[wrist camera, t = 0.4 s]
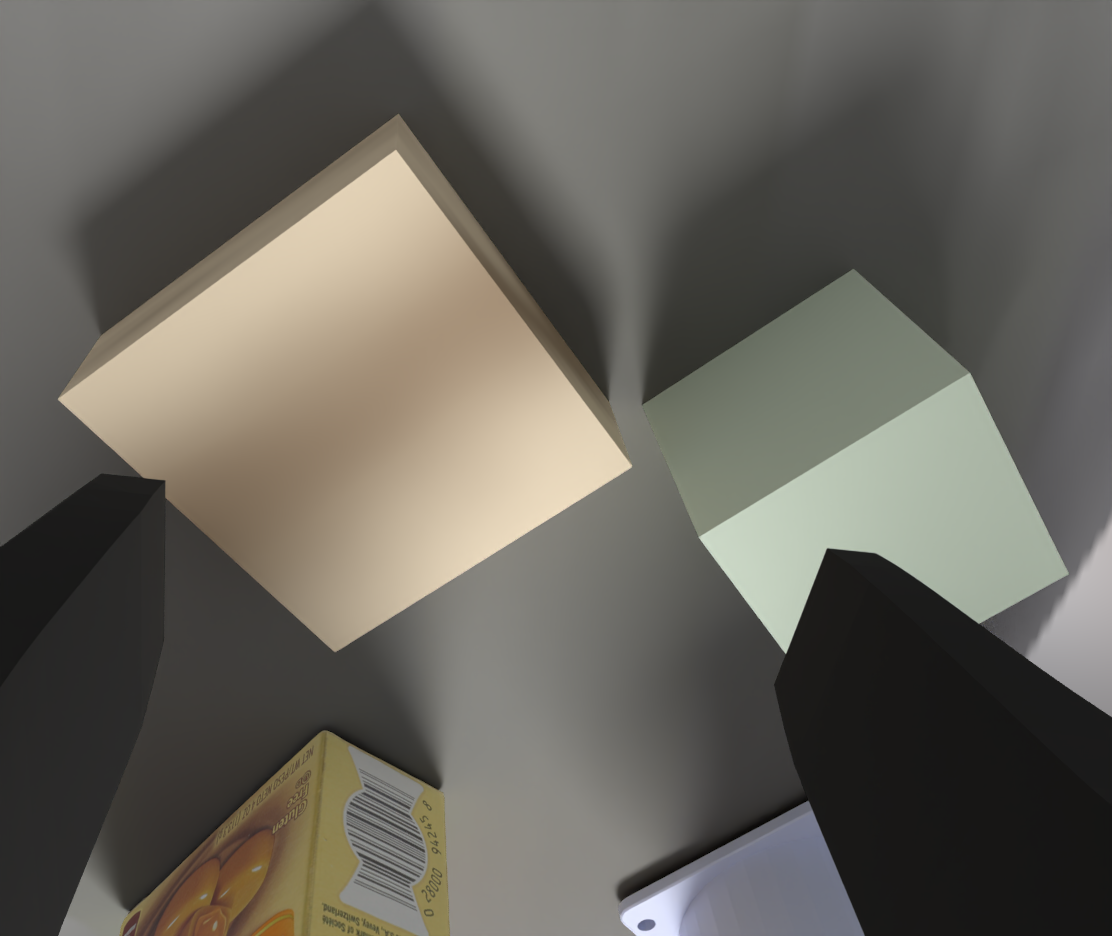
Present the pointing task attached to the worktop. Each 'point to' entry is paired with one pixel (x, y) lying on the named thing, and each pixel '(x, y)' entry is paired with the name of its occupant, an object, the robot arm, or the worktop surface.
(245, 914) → the candy box
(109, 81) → the worktop surface
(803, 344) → the sage cube
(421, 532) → the beech block
